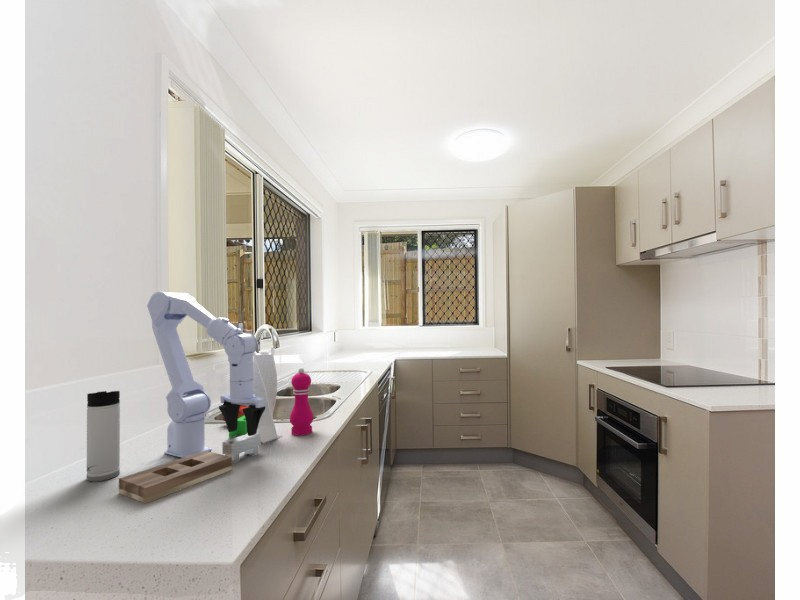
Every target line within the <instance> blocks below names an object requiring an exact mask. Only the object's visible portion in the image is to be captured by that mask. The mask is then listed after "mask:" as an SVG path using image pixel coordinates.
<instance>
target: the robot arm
mask: <svg viewBox="0 0 800 600" xmlns="http://www.w3.org/2000/svg"><path fill="white" fill-rule="evenodd" d="M146 306H147V309H148V313H149V316H150V318H151V327H152V332H153V335H154V337H155V341H156V343H157V346H158V349H159V352H160V355H161V358H162V363H163V364H164V368H165V370H166V374H167V376H168V379H169V382H170V386H171V389H170V391H169V392H168V394H167V395H166V397H165V399H166V402H167V414H168V416H169V418H170V419H171V421H170V423H169V425H168V426H167V434H166V435H167V437H166V438H167V443H166V445H167V446H166V449H167V450H165V451H163V453H164V454H166V455H169V456H174V457H177V458H180V459H181V458H184V457H187V456H190V455H194V454H197V453H200V452H203V451H209V452H211V451H212V449H213V448H212V447H209V446H205V435H206V434H205V417H207V413H208V412H209V410H210V409H211V406H212V401H211V397H210V395H209V394H208V392H206V390H205V389H204V385H203V384H200V383H199V382H197V381H196V380H195V379H194V377H193V373H192V370H191V369H190V365H189V362H188V359H187V357H186V353H185V350H184V347H183V344H182V341H181V338H180V336H179V334H178V330H177V328H178V326H179V325H180V324H181V323H183V322H184V319H185V318H186V317H189V318H191V320H193V321H195V322H196V323H198V324H200V326H203V327H205V328H206V335H208V336H209V337H210V338H212V340H214V341H216V342H217V343H218V344H220V345H221V346H222V347H223V348H224V349H223V350H224V351H225V354H226V355H227V359H228V360H227V362H228V363H229V394H222V395H220V404H221V405H219V406H218V410H219V411H220V412H221V415H222V414H223V415H222V417H223V416H224V419H225V421H224V422H225V425H226V428H227V431H228V433H229V432H232V431H236V430H237V422H238V413H239V409H240V406H241V405H246V406H249V407H248V408H244V409H243V412H244V415H245V418H246V423H247V434H248V436H252V435H255V434H256V433H257V428H258V424H259V421H260V418H261V416H262V414H263V412H264V410H265V406H264V399H262V398H258V397H256V395H254V394H253V361H254V357H253V353H254V352H255V351H256V352H257V349H258V340H257V337H255V336H254V335H253V333H251V332H245V333H244V332H243V329H241V328H239V327H238V328H237V327H236V326H235V325H234V324H232V323H231V322H230V319H229V318H227V317H221V316H220V317H215V316H214V315H213V314H212V313H210V312H209V311H208V310H207V309H206V308H204V307H203V306H202V305H201V304H199V303H198V302H197V300H196V298H195V297H194V296H191V295H190V294H189V293H187V292H169V291H168V292H167V291H166V292H165V291H159V290H158V291H156V292H154V293H153V294H152V295H151V296H150V299H149V300H148V303H147V305H146Z"/></svg>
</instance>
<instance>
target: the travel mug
mask: <svg viewBox="0 0 800 600" xmlns="http://www.w3.org/2000/svg"><path fill="white" fill-rule="evenodd" d="M86 395H87V397H86V399H87V404H86V481H88V482H91V481H92V482H95V483H97V482H103V481H107V480H111V479H113V478H116V477H117V476H119V474H120V472H121V471H120V468H121V467H120V466H121V465H120V463H121V462H120V459H121V456H120V454H121V451H120V450H121V446H120V445H121V444H120V443H121V441H120V440H121V430H120V429H121V415H120V414H121V405H120V404H121V399H120V396H121V394H120V390H113V391H111V390H110V391H109V392H108V391H107V390H105V391H104V390H103V391H97V392H90V393H86Z"/></svg>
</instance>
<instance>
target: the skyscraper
mask: <svg viewBox="0 0 800 600" xmlns="http://www.w3.org/2000/svg"><path fill="white" fill-rule="evenodd" d="M274 355H275V347H274V346H273V345H271V347H270V350H259V351H258V352H257V350H256V351H255V352H254V353H253V394H254V395H256V397H258V398H262V399H264V406H265V410H264V412H263V414H262V416H261V418H260V421H259V424H258V428H257V433H256V434H260V442H261V443H260V444H266V443H268V441H269V442H271V440H272V441H274V439H275V440H278V439H281V438H283V436H281V435H278V433H277V429H276V425H275V421H274V417H273V415H274V410H275V407H276V400H277V394H278V374H277V367H276V362H275V357H274ZM280 437H281V438H280ZM265 442H266V443H265Z"/></svg>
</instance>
